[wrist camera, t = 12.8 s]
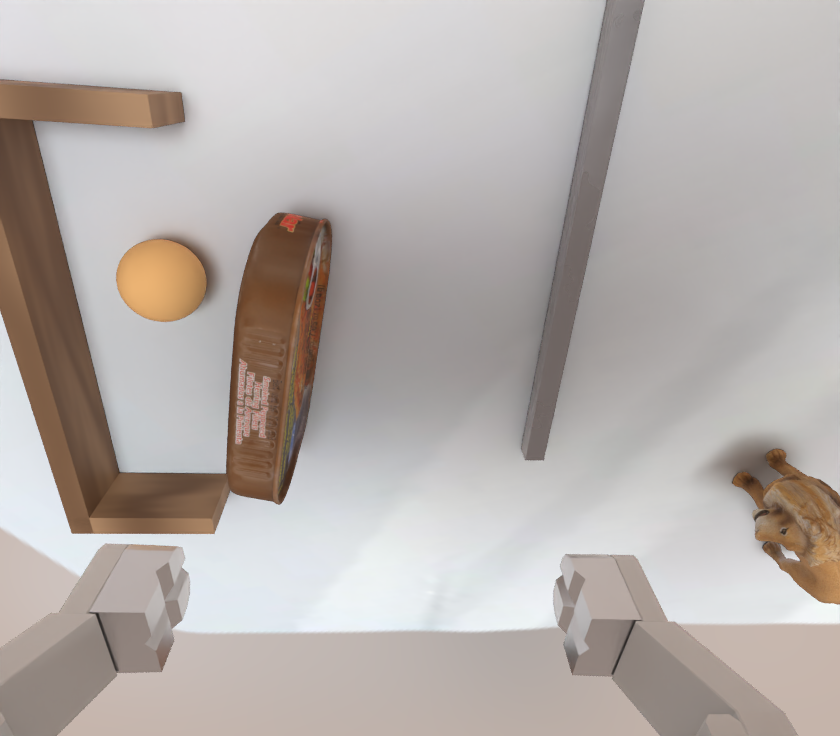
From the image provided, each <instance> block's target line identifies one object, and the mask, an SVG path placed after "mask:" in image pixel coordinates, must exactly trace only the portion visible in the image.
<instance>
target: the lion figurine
mask: <svg viewBox="0 0 840 736" xmlns="http://www.w3.org/2000/svg"><path fill="white" fill-rule="evenodd" d="M785 458H786V453H785V452H784V451H783V450H780V449H773V450H772V451H770V452H769V453H767V455H766V459H767V461H768V463H769V466H770V467H772V468H773V469H775V470H776V471H778V472H779V473H780V474H781V475H783V476H784V477H783V478H780V479H777V480H774V481H773V482H772V483H770V484H769V485H768V486H767V487H766V488H765V489H763V487H762V485H761V484H760V482H759V481H758V480H757V479H756V478H754V477H752V476H751V475H750V474H749V473H747V472H741V473H738V474H737V475H736V476H735V477H734V480H733V482H732V483H733V484H734V485H735V486H737V487H741V488H743V489H744V490H745V491H746V492H747V493H749V494H750V495H751V497H752V498H753V499H754V501H755V503H756V505H757V506H758V508H759V509H756V510H754V511H753V513H752V515H753V519H754V520H755V522H756V523H755V538H756V539H757V540H759V541H770V542H768V543H766V544H765V545H764V546H763V550H764V551H765V552H766V553H767V554H768V555H769V556H771V557H772V558H773V559H774V560H775V561H776V562H777V564H778V565H779V567H780V569H781V570H783V571H785V572H787V573H789V574H790V576H791V577H792V578H793V580H794V581H795V582H796V583H797V584H798V585H799V586H800V587H801V588H803V589H804V590H805V591H806V592H808V593H809V594H810V595H811V596H813V597H814V598H815V599H817V600H818V601H820V602H823V603H835V604H840V496H839V495H838V493H837V492H836V491H834V490H832V488H831V487H830V486H828V485H827V484H826V483H824V482H823V481H821V480H819V479H815V478H813V477H811V476H807V475H805V474H803V473H802V472H800V471H799V470H797V469H796V468H794V467H793V466H791V465H789V464H788V463H787V462H786V461H785ZM778 543H780V544H782V545H783V546H784V547H785V548H786V549H787V550H790V551H794V552H795V554H796V555H797V557H798V558H799V559H800V561H797V560H793V559H789V558H788V559H786V557H785V556H784V554H783V553H782V551H781V548H780V545H779V544H778Z"/></svg>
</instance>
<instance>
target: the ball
mask: <svg viewBox="0 0 840 736" xmlns="http://www.w3.org/2000/svg"><path fill="white" fill-rule="evenodd" d="M116 281H117V287H118V290H119V293H120V295H121V297H122V299H123V300H124V302H125V303H126V304H127V305H128V306H129V307H130V308H131V309H132V310H133V311H134V312H136V313H137V314H139V315H140V316H142V317H145V318H147V319H150V320H154V321H160V322H169V321H175V320H179V319H182V318H184V317H186V316H188V315H189V314H191V313H192V312H193V311H195V310H196V309H197V308H198V306H199V305H200V304H201V302H202V300H203V298H204V295H205V292H206V286H207V281H206V274H205V271H204V268H203V266H202V264H201V262H200V261H199V259H198V258H197V257H196V256H195V255H194V254H193V253H192V252H191V251H190V250H189V249H187V248H186V247H184V246H183V245H181V244H178V243H176V242H173V241H169V240H164V239H153V240H148V241H144V242H141V243H139V244H137V245H135V246H133V247H132V248H131V249H129V250H128V251H127V252H126V253H125V254H124V256H123V257H122V259H121V261H120V263H119V265H118V268H117V274H116Z"/></svg>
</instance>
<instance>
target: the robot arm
mask: <svg viewBox="0 0 840 736" xmlns="http://www.w3.org/2000/svg"><path fill="white" fill-rule="evenodd" d="M184 560H185V555H184V551H183V548H182V547H177V546H156V545H135V544H105V545H103V546H102V547H101V548H100V549H99V550H98V551H97V552H96V554H95V556H94V557H93V559H92V560H91V562H90V564H89V565H88V567H87V568H86V570H85V571H84V573H83V575H82V576H81V578H80V579H79V581H78V583H77V584H76V586H75V587H74V589H73V591H72V592H71V594H70V595H69V597H68V599H67V600H66V602H65V603H64V605H63V607H62V608H61V610H60V611H59V613H50V614H48V615H47V616H46V617H44V618H43V619H41V620H40V621H39V622H37V623H36V624H34V625H33V626H31V627H30V628H28V629H27V630H25V631H24V632H22V633H21V634H20V635H18V636H17V637H15V638H14V639H12V640H11V641H9V642H8V643H7V644H5V645H4V646H2V647H1V648H0V736H57V735H58V734H59V733H60V732H61V731H62V730H63V729H64V728H65V727H66V726H67V725H68V724H69V723H70V722H71V721H72V720H73V719H74V718H75V717H76V716H77V715H78V714H79V713H80V712H81V711H82V710H83V709H84V708H85V707H86V706H87V705H88V704H89V703H90V702H91V701H92V700H93V699H94V698H95V697H96V696H97V695H98V694H99V693H100V692H101V691H102V690H103V689H104V688H105V687H106V686H107V685H108V684H109V683H110V682H111V681H112V680H113V679H114V678H115V677H116V676H117V673H135V672H136V673H137V672H162V670H163V667H164V665H165V662H166V660H167V657H168V655H169V652H170V650H171V647H172V645H173V642H174V637H173V633H172V628H173V627H175V626H176V625H177V624H178V623H179V622H181V621H182V619H183V617H184V614H185V611H186V609H187V605H188V600H189V595H190V578H189V573H188V572H186V571H185V570H184V569H183V568H182V565H183V563H184ZM560 568H561V571H562V574H563V575H562V576H560V577H559V578H558V579H557V580H556V582H555V586H554V590H553V605H554V612H555V616H556V620H557V624H558V626H559V627H560V628H561V629H562V630H563V631H564V632H565V633H566V634H567V635H566V638H565V641H564V644H563V645H564V649H565V652H566V655H567V659H568V662H569V666H570V669H571V673H572V675H584V676H585V675H586V676H612V677H613V678H612V679H613V681H614V682H615V683H616V684H617V685H618V687H619V688H620V689H621V690H622V691H623V692H624V694H625V695H626V696H627V697H628V698H629V700H630V701H631V702H632V703H633V704H634V705H635V707H636V708H637V709H638V710H639V711H640V713H641V714H642V715H643V716H644V717H645V718H646V720H647V721H648V722H649V723H650V724H651V726H652V727H653V728H654V729H655V730H656V731H657V733H658V734H659V735H660V736H798V734H797V733H796V731H795V729H794V728H793V726H792V724H791V722H790V721H789V719H788V717H787V716H786V714H785V713H784V712H783V711H782V710H781V709H779V708H778V707H777V706H776V705H775V704H773V703H772V702H771V701H770V700H769V699H767V698H766V697H765V696H764V695H762V694H761V693H760V692H759V691H757V689H755V688H754V687H753V686H752V685H751V684H749V683H748V682H747V681H746V680H745V679H743V678H742V677H741V676H740V675H739V674H737V673H736V672H735V671H734V670H732V669H731V668H730V667H729V666H728V665H726V664H725V663H724V662H723V661H722V660H720V659H719V658H718V657H717V656H716V655H714V654H713V653H712V652H711V651H710V650H708V649H707V648H706V647H705V646H704V645H702V644H701V643H700V642H699V641H697V640H696V639H695V638H694V637H693V636H691V635H690V634H689V633H688V632H687V631H686V630H684V629H683V628H682V627H681V626H680V625H678V624H677V623H676V622H671V621H668V620H667V618H666V616H665V614H664V612H663V610H662V608H661V606H660V604H659V602H658V600H657V598H656V596H655V594H654V592H653V590H652V588H651V586H650V584H649V582H648V580H647V578H646V575H645V573H644V571H643V569H642V567H641V565H640V563H639V561H638V559H637V558H636V557H635V556H633V555H601V554H565V555H564V557H563V558H562V561H561V564H560Z"/></svg>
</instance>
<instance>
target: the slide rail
mask: <svg viewBox="0 0 840 736" xmlns="http://www.w3.org/2000/svg"><path fill="white" fill-rule="evenodd" d="M644 1H645V0H607V4H606V9H605V14H604V19H603V25H602V30H601V35H600V40H599V45H598V51H597V56H596V61H595V66H594V71H593V77H592V82H591V87H590V92H589V97H588V102H587V108H586V113H585V118H584V123H583V128H582V134H581V139H580V144H579V149H578V154H577V160H576V165H575V170H574V175H573V180H572V186H571V191H570V196H569V201H568V206H567V212H566V217H565V222H564V227H563V232H562V238H561V243H560V248H559V253H558V258H557V264H556V269H555V274H554V279H553V284H552V290H551V295H550V300H549V305H548V310H547V316H546V321H545V326H544V331H543V336H542V342H541V347H540V352H539V357H538V362H537V368H536V373H535V378H534V383H533V388H532V394H531V399H530V404H529V409H528V414H527V420H526V425H525V430H524V435H523V440H522V446H521V450H522V453H523V455H524V458H525V460H544V456H545V452H546V447H547V443H548V438H549V433H550V429H551V424H552V420H553V415H554V411H555V406H556V402H557V397H558V392H559V388H560V383H561V379H562V374H563V370H564V365H565V361H566V356H567V351H568V347H569V342H570V338H571V333H572V329H573V324H574V320H575V315H576V310H577V306H578V301H579V297H580V292H581V288H582V283H583V279H584V274H585V269H586V265H587V260H588V256H589V251H590V247H591V242H592V238H593V233H594V229H595V224H596V219H597V215H598V210H599V206H600V201H601V197H602V192H603V188H604V183H605V178H606V174H607V169H608V165H609V160H610V156H611V151H612V147H613V142H614V137H615V133H616V128H617V124H618V119H619V115H620V110H621V106H622V101H623V96H624V92H625V87H626V83H627V78H628V74H629V69H630V65H631V60H632V55H633V51H634V46H635V42H636V37H637V33H638V28H639V24H640V19H641V14H642V10H643V5H644Z"/></svg>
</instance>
